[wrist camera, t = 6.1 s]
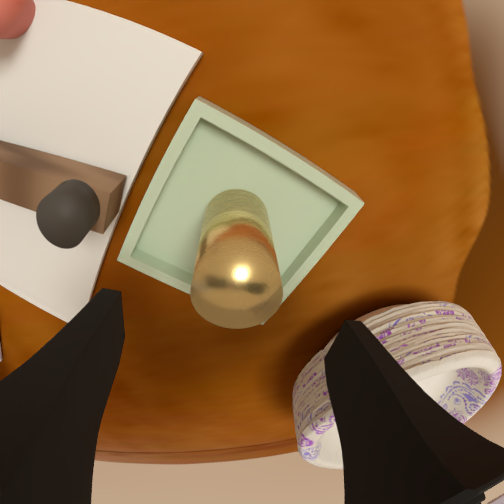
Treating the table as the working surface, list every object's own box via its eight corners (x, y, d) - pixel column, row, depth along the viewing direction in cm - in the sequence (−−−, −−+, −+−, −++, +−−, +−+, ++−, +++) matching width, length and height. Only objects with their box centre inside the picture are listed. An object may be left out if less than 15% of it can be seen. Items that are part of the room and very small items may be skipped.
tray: (261, 308, 20) (262, 324, 19) (124, 245, 17) (116, 260, 16) (354, 191, 16) (364, 203, 15) (199, 96, 13) (195, 98, 12)
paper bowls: (270, 299, 20) (285, 411, 13) (473, 251, 18) (536, 324, 12) (295, 411, 28) (306, 483, 21) (437, 372, 27) (464, 433, 20)
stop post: (23, 42, 9) (-17, 44, 7) (-4, 34, 9) (-42, 37, 6) (43, 0, 8) (5, -7, 6) (14, -6, 8) (-23, -10, 5)
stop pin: (250, 254, 17) (256, 337, 12) (194, 232, 16) (178, 312, 11) (279, 204, 16) (300, 278, 10) (220, 178, 15) (211, 243, 10)
